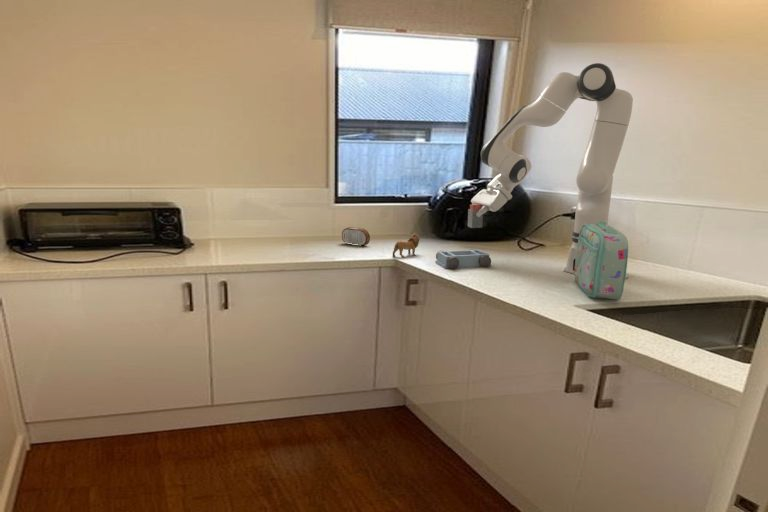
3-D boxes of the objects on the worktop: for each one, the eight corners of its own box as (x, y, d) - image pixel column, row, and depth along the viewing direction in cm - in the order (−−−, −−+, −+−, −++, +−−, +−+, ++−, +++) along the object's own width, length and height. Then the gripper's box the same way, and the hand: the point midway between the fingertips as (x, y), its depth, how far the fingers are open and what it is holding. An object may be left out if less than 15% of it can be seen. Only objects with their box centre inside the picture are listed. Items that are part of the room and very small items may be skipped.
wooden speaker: (370, 246, 224) (370, 228, 222) (366, 247, 221) (366, 229, 220) (344, 243, 232) (344, 226, 230) (340, 244, 229) (340, 226, 227)
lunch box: (569, 279, 163) (574, 217, 159) (600, 281, 162) (606, 218, 157) (588, 303, 137) (595, 230, 133) (626, 305, 136) (635, 231, 131)
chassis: (492, 266, 182) (493, 255, 181) (446, 269, 178) (446, 257, 177) (477, 259, 195) (478, 248, 194) (433, 261, 191) (434, 250, 190)
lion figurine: (413, 252, 209) (413, 232, 207) (422, 254, 205) (422, 233, 203) (388, 257, 200) (388, 236, 198) (397, 259, 196) (397, 237, 194)
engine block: (482, 227, 189) (483, 205, 187) (471, 228, 188) (472, 205, 186) (477, 226, 193) (478, 203, 192) (467, 226, 192) (468, 204, 191)
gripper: (482, 182, 199) (459, 206, 199) (504, 186, 179) (479, 212, 179) (491, 193, 200) (468, 217, 201) (514, 197, 181) (489, 223, 181)
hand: (473, 214), depth 190 cm, fingers closed on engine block, 4 cm apart
